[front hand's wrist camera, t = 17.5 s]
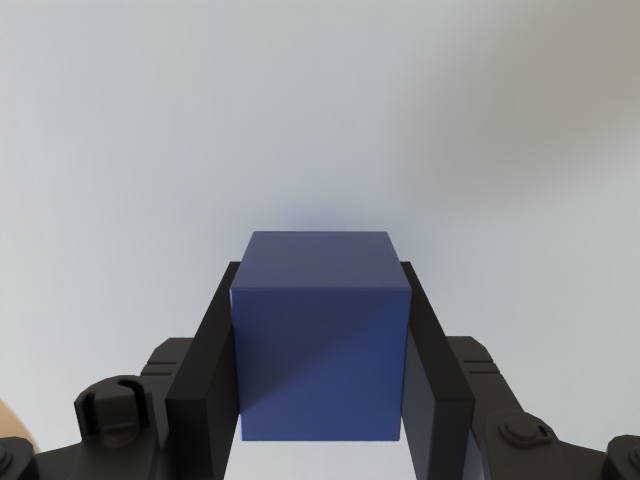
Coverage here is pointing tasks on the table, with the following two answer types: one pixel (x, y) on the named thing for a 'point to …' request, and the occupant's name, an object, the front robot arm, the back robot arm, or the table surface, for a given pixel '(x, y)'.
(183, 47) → the table surface
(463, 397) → the front robot arm
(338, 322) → the block
